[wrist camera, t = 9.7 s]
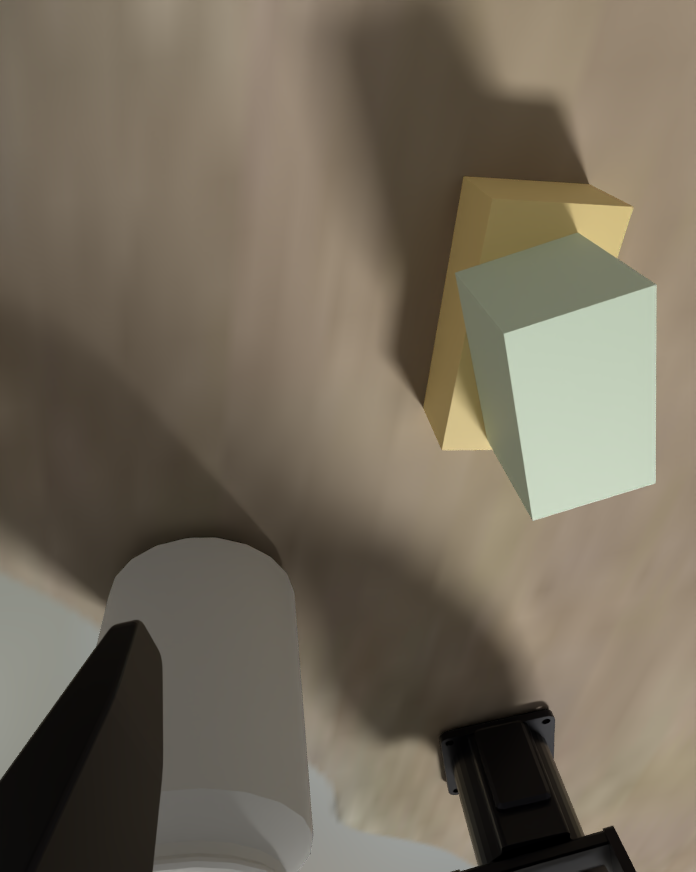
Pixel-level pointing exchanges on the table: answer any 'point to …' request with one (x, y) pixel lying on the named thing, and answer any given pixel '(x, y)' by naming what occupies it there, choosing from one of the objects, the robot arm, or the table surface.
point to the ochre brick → (491, 239)
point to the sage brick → (564, 371)
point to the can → (223, 705)
